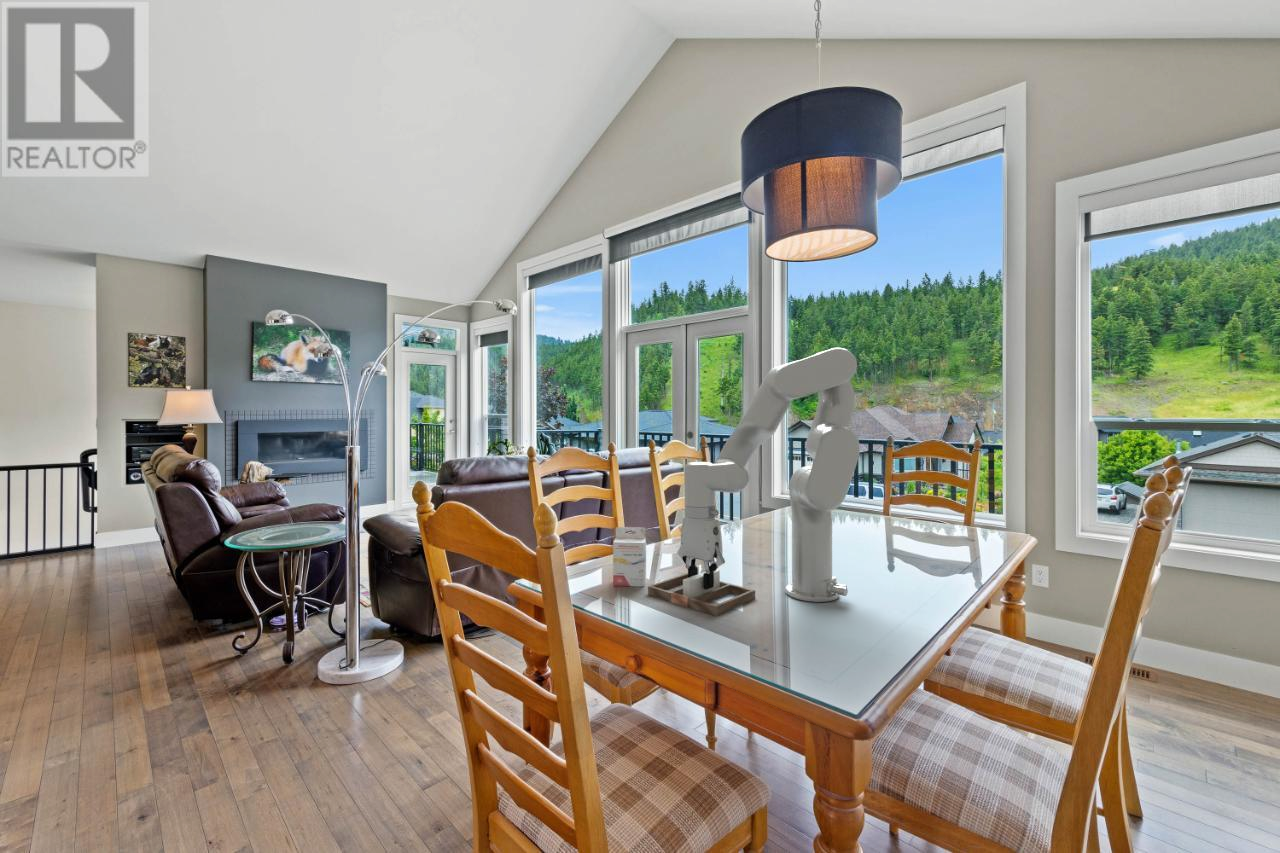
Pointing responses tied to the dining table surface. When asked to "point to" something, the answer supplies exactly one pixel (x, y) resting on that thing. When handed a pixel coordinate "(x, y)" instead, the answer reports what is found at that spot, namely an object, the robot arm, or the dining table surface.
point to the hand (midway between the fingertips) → (700, 585)
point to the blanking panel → (698, 585)
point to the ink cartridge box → (629, 557)
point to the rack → (702, 595)
